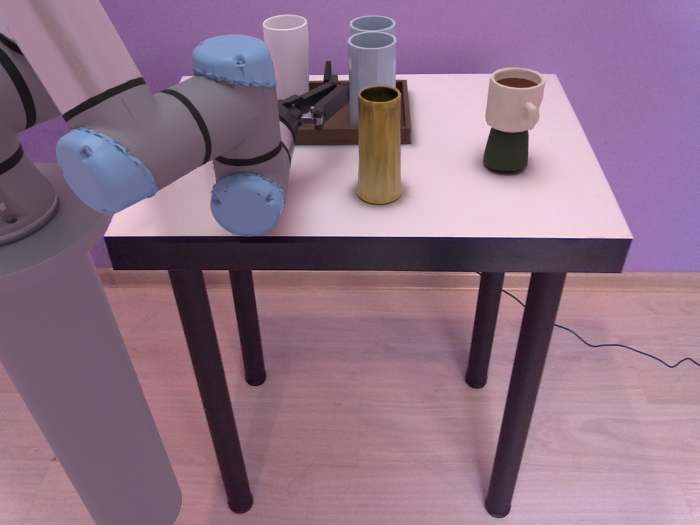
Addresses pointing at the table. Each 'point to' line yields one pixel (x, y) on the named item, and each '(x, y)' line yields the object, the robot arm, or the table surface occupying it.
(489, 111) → the character mug
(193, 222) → the table surface
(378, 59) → the tumbler
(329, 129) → the tray
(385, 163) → the vase
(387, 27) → the tumbler
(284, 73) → the drinking glass
